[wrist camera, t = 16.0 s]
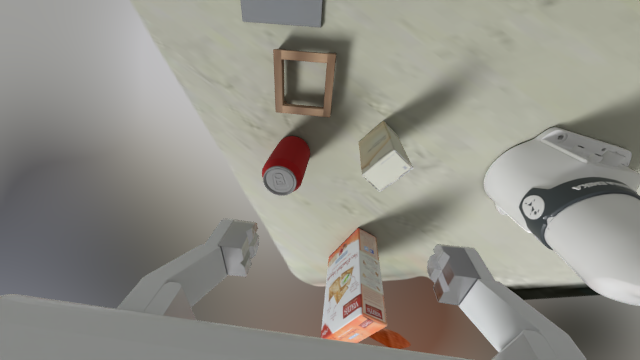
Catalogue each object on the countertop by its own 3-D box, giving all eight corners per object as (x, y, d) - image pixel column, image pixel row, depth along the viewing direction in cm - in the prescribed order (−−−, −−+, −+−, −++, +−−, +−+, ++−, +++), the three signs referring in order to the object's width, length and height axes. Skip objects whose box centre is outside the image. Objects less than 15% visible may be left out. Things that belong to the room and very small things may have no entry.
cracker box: (356, 225, 55) (361, 314, 38) (376, 236, 56) (390, 327, 39) (326, 256, 62) (318, 343, 45) (345, 265, 63) (344, 353, 46)
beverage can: (282, 166, 48) (265, 200, 38) (274, 136, 45) (252, 165, 35) (313, 163, 47) (304, 197, 37) (307, 132, 44) (295, 160, 34)
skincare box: (383, 119, 41) (395, 147, 31) (398, 136, 42) (415, 167, 32) (357, 142, 44) (360, 175, 34) (372, 157, 45) (380, 192, 35)
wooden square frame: (336, 53, 36) (335, 54, 34) (331, 112, 41) (329, 117, 39) (278, 48, 37) (273, 49, 34) (280, 107, 42) (275, 112, 39)
